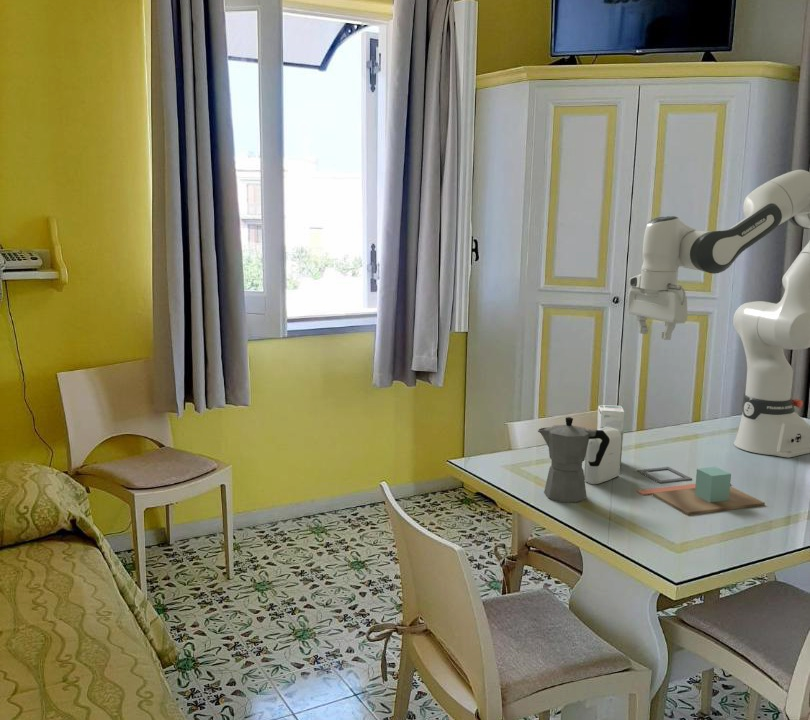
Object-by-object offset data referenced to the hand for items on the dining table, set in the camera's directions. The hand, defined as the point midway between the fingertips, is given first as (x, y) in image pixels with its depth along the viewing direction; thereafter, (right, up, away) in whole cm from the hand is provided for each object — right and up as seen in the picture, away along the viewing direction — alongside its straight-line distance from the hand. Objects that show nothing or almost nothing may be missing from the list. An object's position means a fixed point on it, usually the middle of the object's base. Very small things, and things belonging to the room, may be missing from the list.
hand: (654, 336), depth 203 cm
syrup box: (-12, -32, -2) cm, 34 cm away
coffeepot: (-27, -36, -25) cm, 52 cm away
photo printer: (-17, -34, -14) cm, 41 cm away
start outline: (-1, -34, -11) cm, 35 cm away
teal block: (+4, -36, -27) cm, 45 cm away
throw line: (+1, -35, -19) cm, 40 cm away
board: (+3, -37, -27) cm, 46 cm away
